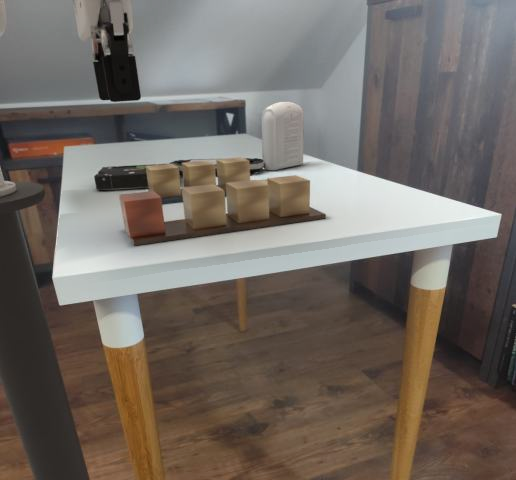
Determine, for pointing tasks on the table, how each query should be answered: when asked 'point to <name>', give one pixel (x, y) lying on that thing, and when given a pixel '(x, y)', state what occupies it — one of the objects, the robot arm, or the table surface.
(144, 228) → the reddish wooden cube
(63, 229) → the table surface
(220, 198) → the front word
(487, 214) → the table surface
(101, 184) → the disk drive
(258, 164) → the gaming console
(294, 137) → the white rounded slab
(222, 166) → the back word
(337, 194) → the table surface
